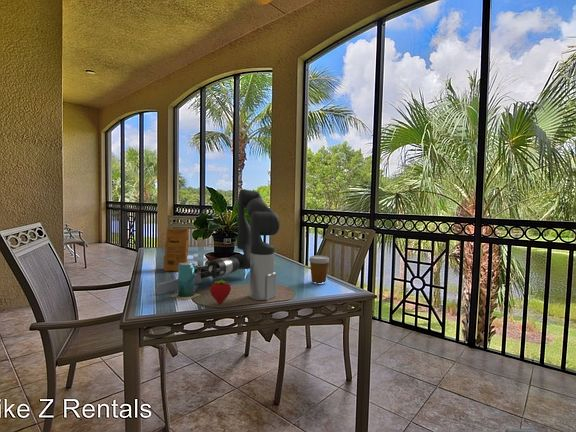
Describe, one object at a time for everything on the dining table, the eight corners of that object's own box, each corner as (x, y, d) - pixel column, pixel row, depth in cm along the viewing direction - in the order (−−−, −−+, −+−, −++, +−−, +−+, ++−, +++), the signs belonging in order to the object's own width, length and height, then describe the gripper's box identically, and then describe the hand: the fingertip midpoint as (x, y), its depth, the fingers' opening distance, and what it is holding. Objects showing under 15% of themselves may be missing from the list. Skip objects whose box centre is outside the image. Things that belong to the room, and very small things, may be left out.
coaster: (200, 295, 127) (201, 294, 127) (185, 300, 120) (185, 299, 120) (186, 291, 131) (186, 291, 131) (170, 296, 124) (170, 295, 124)
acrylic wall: (202, 282, 147) (202, 273, 147) (158, 294, 126) (158, 284, 126) (200, 281, 148) (200, 272, 147) (156, 294, 126) (156, 284, 126)
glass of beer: (318, 286, 145) (319, 259, 144) (304, 282, 152) (304, 256, 151) (333, 283, 151) (334, 257, 150) (318, 279, 158) (319, 254, 157)
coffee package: (166, 267, 175) (166, 226, 174) (190, 267, 176) (190, 227, 175) (161, 271, 165) (161, 228, 164) (186, 272, 166) (186, 229, 165)
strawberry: (208, 302, 119) (208, 275, 118) (228, 300, 122) (228, 273, 121) (211, 307, 114) (211, 278, 113) (232, 304, 117) (232, 277, 116)
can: (197, 294, 127) (198, 263, 127) (185, 298, 122) (186, 265, 121) (186, 291, 130) (186, 261, 130) (174, 295, 125) (175, 263, 124)
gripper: (207, 257, 146) (180, 262, 132) (233, 260, 139) (207, 267, 125) (207, 273, 146) (180, 281, 132) (233, 278, 140) (206, 286, 125)
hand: (193, 274), depth 129 cm, fingers open, 8 cm apart
